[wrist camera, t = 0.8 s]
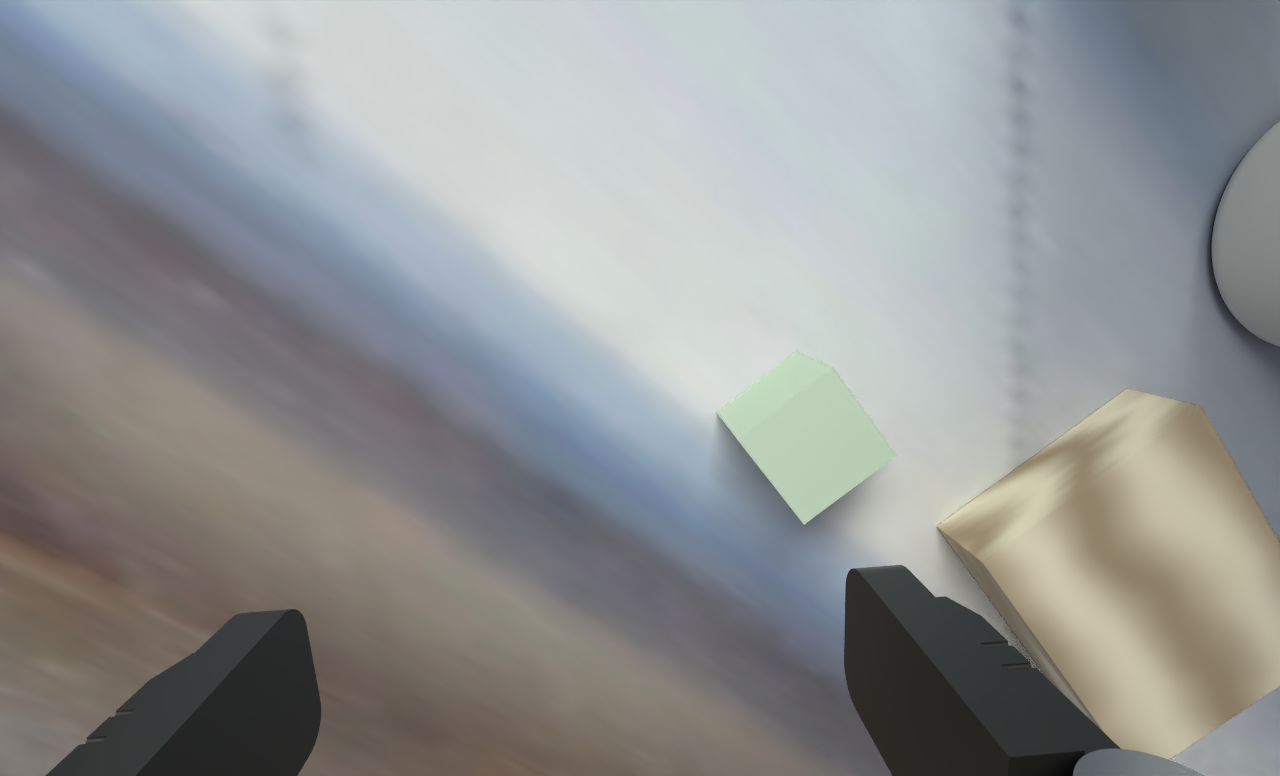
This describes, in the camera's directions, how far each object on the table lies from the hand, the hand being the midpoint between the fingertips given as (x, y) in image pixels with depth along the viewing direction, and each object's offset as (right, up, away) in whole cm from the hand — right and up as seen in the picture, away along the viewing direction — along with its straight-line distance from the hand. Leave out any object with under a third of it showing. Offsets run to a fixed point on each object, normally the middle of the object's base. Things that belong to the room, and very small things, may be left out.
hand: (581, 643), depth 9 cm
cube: (+8, +2, +22) cm, 24 cm away
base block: (+26, -6, +25) cm, 37 cm away
